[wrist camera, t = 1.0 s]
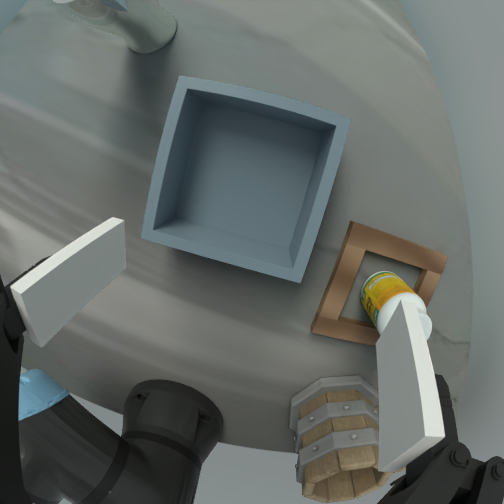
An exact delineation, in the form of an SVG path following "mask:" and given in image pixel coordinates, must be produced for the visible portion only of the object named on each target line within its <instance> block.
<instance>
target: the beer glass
mask: <svg viewBox="0 0 504 504" xmlns="http://www.w3.org/2000/svg"><path fill="white" fill-rule="evenodd" d="M52 1H53V2H55V3H57V4H58V5H60V6H61V7H62V8H63V9H65V10H66V11H67V12H69V13H70V14H71V15H73V16H74V17H76V18H77V19H78V20H80V21H82V22H84V23H85V24H87V25H89V26H92V27H94V28H97V29H99V30H102V31H105V32H108V33H111V34H114V35H117V36H120V37H121V38H123V39H124V40H125V42H126V43H127V45H128V46H129V48H130V49H131V50H133V51H134V52H137V53H141V54H147V53H152V52H155V51H157V50H159V49H161V48H163V47H164V46H165V45H166V44H168V43H169V42H170V40H171V39H172V38H173V36H174V34H175V32H176V28H177V23H176V19H175V17H174V16H173V15H172V14H171V13H170V12H168V11H167V10H165V9H164V8H163V7H162V6H161V5H160V3H159V1H158V0H52Z"/></svg>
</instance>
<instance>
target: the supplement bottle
mask: <svg viewBox="0 0 504 504" xmlns="http://www.w3.org/2000/svg"><path fill="white" fill-rule="evenodd" d="M360 296H361V302H362V304H363V306H364V308H365V310H366V311H367V313H368V315H369V317H370V318H371V320H372V321H373V323H374V325H375V327H376V329H377V330H378V332H379V334H380V335H381V334H382V332H383V331H384V329H385V327H386V326H387V324H388V322H389V320H390V318H391V317H392V315H393V313H394V311H395V309H396V307H397V306H398V304H399V302H400V300H405V301H409V302H412V303H415V304H416V307H417V310H418V314H419V317H420V320H421V324H422V327H423V331H424V334H425V338H426V341H427V339H428V338H429V336H430V334H431V330H432V322H431V320H430V318H429V317H428V315H427V314H426V307H425V304H424V302H423V300H422V299H421V298H420V297H419V296H418V295H417V294H416V293H415V292H414V291H413V290H412V289H411V288H410V287H409V286H408V285H407V284H406V283H405V282H404V281H403V280H402V279H401V278H400V277H398V276H397V275H396V274H395V273H392V272H389V271H380V272H377V273H375V274H373V275H371V276H370V277H369V278H368V279H367V280H366V282H365V283H364V285H363V287H362V290H361V295H360Z"/></svg>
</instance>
